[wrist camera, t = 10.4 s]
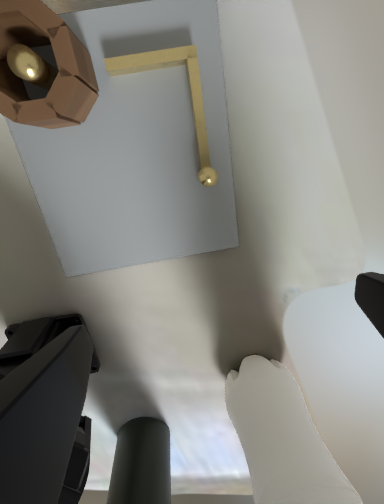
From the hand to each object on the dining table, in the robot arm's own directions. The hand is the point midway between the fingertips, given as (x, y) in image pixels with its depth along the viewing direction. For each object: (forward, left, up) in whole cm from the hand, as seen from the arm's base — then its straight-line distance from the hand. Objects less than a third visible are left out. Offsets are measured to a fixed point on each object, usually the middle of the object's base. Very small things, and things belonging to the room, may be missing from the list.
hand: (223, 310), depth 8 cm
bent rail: (+6, +1, -12) cm, 14 cm away
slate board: (+5, +4, -13) cm, 14 cm away
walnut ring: (+10, +7, -12) cm, 17 cm away
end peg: (+10, +7, -13) cm, 18 cm away
